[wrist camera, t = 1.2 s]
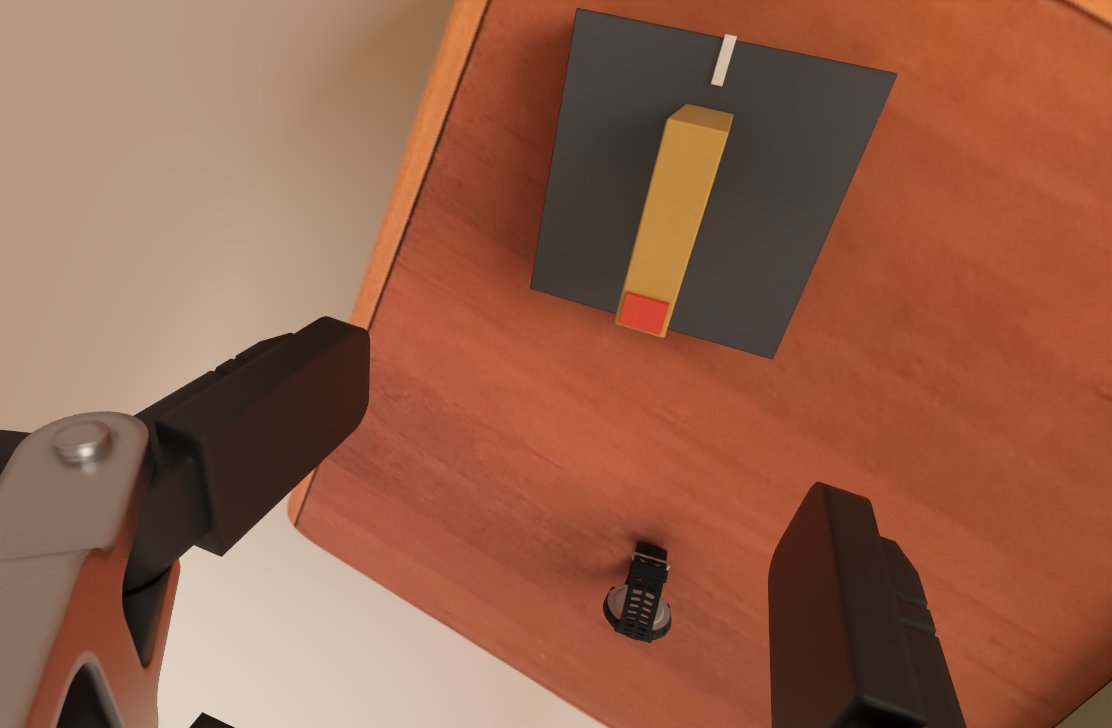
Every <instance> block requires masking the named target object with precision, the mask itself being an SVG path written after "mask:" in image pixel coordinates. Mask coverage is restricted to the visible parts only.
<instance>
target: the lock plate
mask: <svg viewBox="0 0 1112 728" xmlns="http://www.w3.org/2000/svg"><path fill="white" fill-rule="evenodd" d="M736 38H737V37H736V36H732V35H727V34H725V36H724V38H722V37H717V36H713V35H708V34H703V33H698V32H693V31H688V30H683V29H678V28H674V27H669V26H664V25H659V24H654V23H649V22H644V21H639V20H634V19H630V18H625V17H620V16H615V15H610V14H605V13H600V12H595V11H590V10H586V9H581V8H577V9H576V14H575V20H574V26H573V32H572V38H571V44H570V50H569V56H568V62H567V68H566V74H565V80H564V87H563V93H562V99H561V105H560V111H559V117H558V123H557V129H556V135H555V141H554V147H553V153H552V159H551V165H550V171H549V177H548V183H547V189H546V195H545V201H544V207H543V213H542V219H541V225H540V231H539V237H538V243H537V249H536V255H535V261H534V267H533V273H532V279H531V285H530V289H533V290H536V291H539V292H543V293H546V294H550V295H553V296H557V297H560V298H563V299H567V300H570V301H574V302H577V303H581V304H584V305H587V306H591V307H594V308H598V309H601V310H605V311H608V312H611V313H615V314H616V313H617V309H618V306H619V302H620V298H621V294H622V290H623V286H624V282H625V279H626V275H627V271H628V267H629V263H630V259H631V255H632V251H633V248H634V244H635V240H636V236H637V232H638V228H639V224H640V220H641V217H642V213H643V209H644V205H645V201H646V197H647V193H648V189H649V186H650V182H651V178H652V174H653V170H654V166H655V162H656V158H657V155H658V151H659V147H660V143H661V139H662V135H663V131H664V127H665V124H666V120H667V119H668V118H669V117H670V116H672V115H673V114H674V113H675V112H677V111H678V110H679V109H680V108H682V107H683V106H684V105H686V104H691V105H695V106H699V107H704V108H708V109H713V110H717V111H722V112H726V113H730V114H733V119H732V123H731V127H730V130H729V134H728V137H727V140H726V144H725V147H724V150H723V153H722V156H721V160H720V163H719V166H718V169H717V172H716V175H715V179H714V182H713V185H712V188H711V191H710V195H709V198H708V201H707V204H706V207H705V210H704V214H703V217H702V220H701V223H700V226H699V229H698V233H697V236H696V239H695V242H694V245H693V249H692V252H691V255H690V258H689V261H688V264H687V268H686V271H685V274H684V277H683V280H682V283H681V287H680V290H679V293H678V296H677V299H676V303H675V306H674V309H673V312H672V315H671V318H670V322H669V325H668V328H667V329H670V330H673V331H676V332H680V333H683V334H687V335H690V336H694V337H697V338H700V339H704V340H707V341H711V342H714V343H718V344H721V345H724V346H728V347H731V348H735V349H738V350H742V351H745V352H748V353H752V354H755V355H759V356H762V357H766V358H769V359H773V358H774V356H775V354H776V352H777V349H778V347H779V345H780V342H781V340H782V338H783V336H784V333H785V331H786V329H787V326H788V324H789V322H790V320H791V317H792V315H793V313H794V310H795V308H796V306H797V304H798V301H799V299H800V297H801V294H802V292H803V290H804V288H805V285H806V283H807V281H808V278H809V276H810V274H811V272H812V269H813V267H814V265H815V263H816V260H817V258H818V256H819V253H820V251H821V249H822V247H823V244H824V242H825V240H826V237H827V235H828V233H829V231H830V228H831V226H832V224H833V221H834V219H835V217H836V215H837V212H838V210H839V208H840V205H841V203H842V201H843V199H844V196H845V194H846V192H847V189H848V187H849V185H850V183H851V180H852V178H853V176H854V173H855V171H856V169H857V167H858V164H859V162H860V160H861V157H862V155H863V153H864V151H865V148H866V146H867V144H868V141H869V139H870V137H871V135H872V132H873V130H874V128H875V125H876V123H877V121H878V119H879V116H880V114H881V112H882V109H883V107H884V105H885V103H886V100H887V98H888V96H889V93H890V91H891V89H892V87H893V84H894V82H895V80H896V77H897V73H893V72H888V71H884V70H879V69H874V68H869V67H864V66H859V65H854V64H849V63H844V62H840V61H835V60H830V59H825V58H820V57H815V56H810V55H805V54H801V53H796V52H791V51H786V50H781V49H776V48H771V47H766V46H761V45H757V44H752V43H747V42H742V41H737V40H736Z"/></svg>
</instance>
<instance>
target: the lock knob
mask: <svg viewBox="0 0 1112 728" xmlns="http://www.w3.org/2000/svg"><path fill="white" fill-rule="evenodd" d="M732 119H733V114H730V113H726V112H722V111H717V110H713V109H708V108H704V107H699V106H695V105H691V104H686V105H684V106H683V107H682V108H680V109H679V110H678V111H677V112H675V113H674V114H673V115H672V116H670V117H669V118H668V119H667V120H666V124H665V127H664V131H663V135H662V139H661V143H660V147H659V151H658V155H657V158H656V162H655V166H654V170H653V174H652V178H651V182H650V186H649V189H648V193H647V197H646V201H645V205H644V209H643V213H642V217H641V220H640V224H639V228H638V232H637V236H636V240H635V244H634V248H633V251H632V255H631V259H630V263H629V267H628V271H627V275H626V279H625V282H624V286H623V290H622V294H621V298H620V302H619V306H618V309H617V313H616V317H615V324H617V325H621V326H624V327H627V328H631V329H634V330H637V331H641V332H644V333H648V334H651V335H654V336H658V337H661V338H664V337H665V334H666V331H667V328H668V325H669V322H670V318H671V315H672V312H673V309H674V306H675V303H676V299H677V296H678V293H679V290H680V287H681V283H682V280H683V277H684V274H685V271H686V268H687V264H688V261H689V258H690V255H691V252H692V249H693V245H694V242H695V239H696V236H697V233H698V229H699V226H700V223H701V220H702V217H703V214H704V210H705V207H706V204H707V201H708V198H709V195H710V191H711V188H712V185H713V182H714V179H715V175H716V172H717V169H718V166H719V163H720V160H721V156H722V153H723V150H724V147H725V144H726V140H727V137H728V134H729V130H730V127H731V123H732Z"/></svg>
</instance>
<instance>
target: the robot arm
mask: <svg viewBox="0 0 1112 728" xmlns="http://www.w3.org/2000/svg"><path fill="white" fill-rule="evenodd" d="M369 370H370V338H369V334H368V332H367V330H365V329H364V328H361V327H358V326H355V325H352V324H349V323H346V322H343V321H340V320H337V319H334V318H331V317H327V316H325V317H321V318H319V319H318V320H316V321H314V322H313V323H311V324H309V325H308V326H306V327H304V328H303V329H301V330H300V331H298V332H296V333H295V334H293V333H288V334H284V335H281V336H277V337H274V338H270V339H267V340H263V341H260V342H258V343H257V344H255V345H253V346H252V347H250V348H248V349H247V350H245V351H243V352H241V353H240V354H238V355H236V358H235V359H229V360H228V361H226V362H224V363H223V364H221V365H219V366H218V367H216V370H215V371H214V372H213V371H209V372H207V373H206V374H204V375H203V376H201V377H199V378H197V379H196V380H194V381H192V382H190V383H189V384H187V385H185V386H184V387H182V388H180V389H178V390H177V391H175V392H173V393H172V394H170V395H168V396H167V397H165V398H163V399H162V400H160V401H158V402H156V403H155V404H153V405H151V406H150V407H148V408H146V409H145V410H143V411H141V412H139V413H138V414H136V415H134V416H131V415H128V414H124V413H118V412H90V413H83V414H78V415H73V416H69V417H66V418H63V419H60V420H57V421H54V422H52V423H49V424H47V425H45V426H43V427H41V428H40V429H38V430H36V431H34V432H33V433H26V432H17V431H7V430H0V728H158V708H157V691H158V682H159V676H160V671H161V665H162V660H163V655H164V650H165V645H166V640H167V635H168V630H169V625H170V619H171V615H172V610H173V605H174V600H175V595H176V590H177V585H178V580H179V575H180V562H179V557H181V556H182V555H183V554H184V553H185V552H186V551H187V550H188V549H190V548H191V547H192V546H193V545H195V546H197V547H199V548H202V549H204V550H207V551H209V552H211V553H214V554H216V555H218V556H223V555H224V554H225V553H226V552H227V551H228V550H229V549H230V548H231V547H232V546H233V545H234V544H236V542H238V541H239V540H240V539H241V538H242V537H243V536H244V535H245V534H246V533H247V532H248V531H249V530H250V529H251V528H252V527H253V526H254V525H255V524H256V523H258V522H259V521H260V520H261V519H262V518H263V517H264V516H265V515H266V514H267V513H268V512H269V511H270V510H271V509H272V508H273V507H274V506H276V505H277V504H278V503H279V502H280V501H281V500H282V499H283V498H284V497H285V496H286V495H287V494H288V493H289V492H290V491H291V490H292V489H293V488H294V487H296V486H297V485H298V484H299V483H300V482H301V481H302V480H303V479H304V478H305V477H306V476H307V475H308V474H309V473H310V472H311V471H312V470H313V469H314V468H316V467H317V466H318V465H319V464H320V463H321V462H322V461H323V460H324V459H325V458H326V457H327V456H328V455H329V454H330V453H331V452H332V451H333V450H334V449H336V448H337V447H338V446H339V445H340V444H341V443H342V442H343V441H344V440H345V439H346V438H347V437H348V436H349V435H350V434H351V433H352V432H353V431H354V430H355V429H356V428H357V427H358V426H359V424H360V423H361V421H362V419H363V417H364V415H365V413H366V410H367V406H368V402H369ZM768 601H769V639H770V677H771V715H772V728H966V724H965V721H964V718H963V715H962V712H961V708H960V705H959V702H958V699H957V696H956V692H955V689H954V686H953V683H952V680H951V677H950V673H949V670H948V667H947V664H946V661H945V657H944V654H943V651H942V648H941V645H940V641H939V638H938V637H935V631H936V629H935V626H934V622H933V619H932V616H931V613H930V610H927V604H928V603H927V600H926V597H925V594H924V590H923V587H922V584H921V581H920V578H919V575H918V572H917V571H916V569H915V568H914V567H913V565H912V564H911V562H910V561H909V560H908V558H907V557H906V555H905V554H904V553H903V551H902V550H901V549H900V547H899V546H898V544H897V543H896V542H895V541H892V540H890V539H887V538H884V537H881V536H880V535H879V531H878V527H877V523H876V519H875V516H874V512H873V508H872V504H871V502H870V500H869V499H868V498H866V497H863V496H860V495H857V494H854V493H851V492H848V491H845V490H842V489H839V488H836V487H833V486H830V485H827V484H824V483H821V482H816V483H815V484H814V485H813V486H812V487H811V488H810V489H809V491H808V493H807V494H806V496H805V498H804V500H803V501H802V503H801V505H800V507H799V508H798V510H797V512H796V514H795V515H794V517H793V519H792V521H791V522H790V524H789V526H788V528H787V529H786V531H785V533H784V534H783V536H782V538H781V540H780V541H779V543H778V545H777V547H776V549H775V552H774V555H773V558H772V561H771V565H770V570H769V576H768ZM190 728H234V727H232V726H230V725H228V724H226V723H224V722H222V721H220V720H218V719H215V718H213V717H211V716H209V715H207V714H205V713H201V715H200V716H199V717H198V718H197V719H196V721H195V722H194V723H193V724H192V725H191V726H190Z"/></svg>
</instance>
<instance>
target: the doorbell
mask: <svg viewBox="0 0 1112 728" xmlns="http://www.w3.org/2000/svg"><path fill="white" fill-rule="evenodd" d="M1055 728H1112V681H1111V682H1109V683H1108V684H1107V685H1106V686H1105V687H1103V688H1102V689H1101V690H1100V691H1098V692H1097V693H1096V694H1095V695H1094V696H1092V697H1091V698H1090V699H1089V700H1088V701H1086V702H1085V703H1084V704H1083V705H1081V706H1080V707H1079V708H1078V709H1077V710H1075V711H1074V712H1073V713H1072V714H1071V715H1069V716H1068V717H1067V718H1066V719H1064V720H1063V721H1062V722H1061V723H1060V724H1058V725H1057V726H1056V727H1055Z"/></svg>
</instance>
